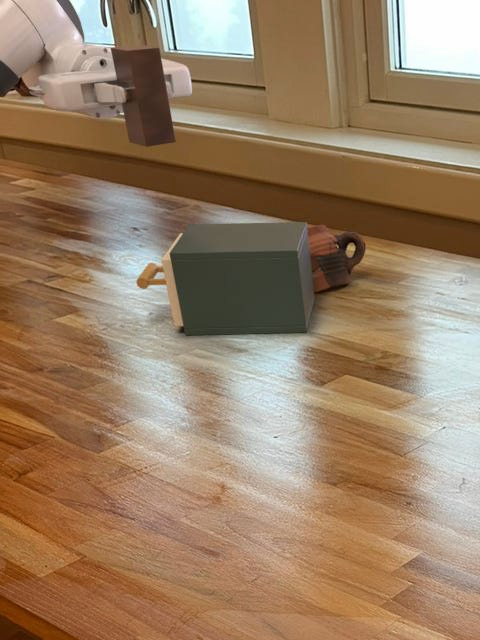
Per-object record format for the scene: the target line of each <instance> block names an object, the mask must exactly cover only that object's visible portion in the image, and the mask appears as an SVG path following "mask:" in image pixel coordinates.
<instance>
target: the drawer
mask: <svg viewBox="0 0 480 640" xmlns="http://www.w3.org/2000/svg"><path fill="white" fill-rule="evenodd" d="M183 233H184V232H180V233H179V235H178V236H177V237H176V239H175V240H174V241H173V243H172V244H171V246H170V247H169V249H168V250H167V252H166V253H165V254H164V256H163V257H162V258H161V264H162V266H158V265H157V264H156V263H154V262H149V263H148V264H147V265H146V266H145V268H144V269H143V270H142V272H140V275H139V276H138V277H137V279H136V285H137V287H138V288H139V289H142V290H145V289H147V288H148V287H149V286H163V285H164V286H166V289H167V295H168V299H169V305H170V310H171V315H172V319H173V325H174V327H184V326H183V321H182V315H181V310H180V305H179V300H178V295H177V289H176V284H175V279H174V274H173V269H172V264H171V259H170V254H169V253H170V252H171V250H172V249H173V247H174V246H175V244H176V243H177V242H178V240H179V239H180V237H181V236H182V234H183ZM158 273H163V275H164V278H161V277H160V278H155V277H156V276H157V274H158Z"/></svg>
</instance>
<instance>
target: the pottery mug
mask: <svg viewBox="0 0 480 640" xmlns="http://www.w3.org/2000/svg"><path fill="white" fill-rule="evenodd" d="M307 229H308V239H309V248H310V257H311V267H312V276H313V285H314V293H318V292H322V291H325V290H327V289H329V288H333V287H340V286H343V285H344V286H345V285H349V283H350V281H349V275H351V274H352V272H353V269H354V268H355V267H356V266H357V265H359V264H360V263H361V262H362V260H363V259H364V256H365V254H366V249H367V248H366V246H367V245H366V242H365V240H363V237H362V236H361V234H359V232H356V231H347V232H344V233H341V234H339V235H338V234H337V235H333V234H331V233H330V232H329V230H328V227H327V225H325V224H317V225H312V226H309V227H307ZM350 244H353V245H354V252H353V253H352V256H351V257H349V256H348V254H347V250H348V247H349V245H350ZM319 269H320V270H319ZM316 271H317V272H316Z"/></svg>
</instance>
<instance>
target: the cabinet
mask: <svg viewBox="0 0 480 640" xmlns="http://www.w3.org/2000/svg"><path fill="white" fill-rule="evenodd" d="M307 228H308V223H307V221H291V222H290V221H289V222H287V221H286V222H284V221H283V222H239V223H238V222H235V223H234V222H233V223H190V224H188V226H187V227H186V228H185V230H184V232H182V233H183V234H182V236H181V237H180V239H179V240H178V242H177V243H176V244H175V246H174V247H173V249H172V250H171V252H170V253H169V254H170V259H171V264H172V269H173V274H174V279H175V284H176V289H177V295H178V300H179V305H180V310H181V315H182V321H183V326H182V327H183V331H184V335H185V336H213V335H214V336H219V335H254V334H256V335H258V334H297V333H299V334H301V333H302V334H303V333H307V332H308V328H309V325H310V320H311V316H312V312H313V308H314V305H315V301H316V296H315V291H314V285H313V276H312V275H313V272H312V267H311V257H310V248H309V239H308V229H307Z"/></svg>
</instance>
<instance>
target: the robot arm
mask: <svg viewBox="0 0 480 640" xmlns="http://www.w3.org/2000/svg"><path fill="white" fill-rule="evenodd" d="M111 48H112V47H108V46H102V45H94V44H89V43H88V44H87V43H85V33H84V28H83V25H82V22H81V19H80V17H79V14H78V12H77V10H76V9H75V7H74V5H73V3H72V2H71V0H0V98H5V97H6V96H7V95H8V94H9V92H10V91H12V89H13V88H14V87H15V86H16V85H17V83H18V82H19V81H20V78H21V80H22V81H23V83H24V85H25V86H26V87H27V88H28V91H29V94H30V95H32V96H36V97H37V98H38V99H40V100H42V102H43V104H44V105H45V106H46V107H47V108H49V109H52V110H55V111H57V112H76V113H78V114H81V115H85V116H88V117H93V118H95V119H100V120H101V119H102V120H108V119H113V118H117V116H119V115H120V114H124V112H123V107H122V103H126V102H131V101H132V96H131V95H130V94H131V91H130V88H129V87H128V86H124V85H121V86H118V82H117V77H116V73H115V68H114V63H113V58H112V53H111ZM161 59H162V65H163V71H164V77H165V82H166V88H167V94H168V99H177V98H187V97H190V96H191V95H192V93H193V84H192V83H193V82H192V78H191V73H190V69H189V67H188V66H187V65H185V64H183V63H180V62H177V61H173V60H170V59H165V58H163V57H161Z"/></svg>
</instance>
